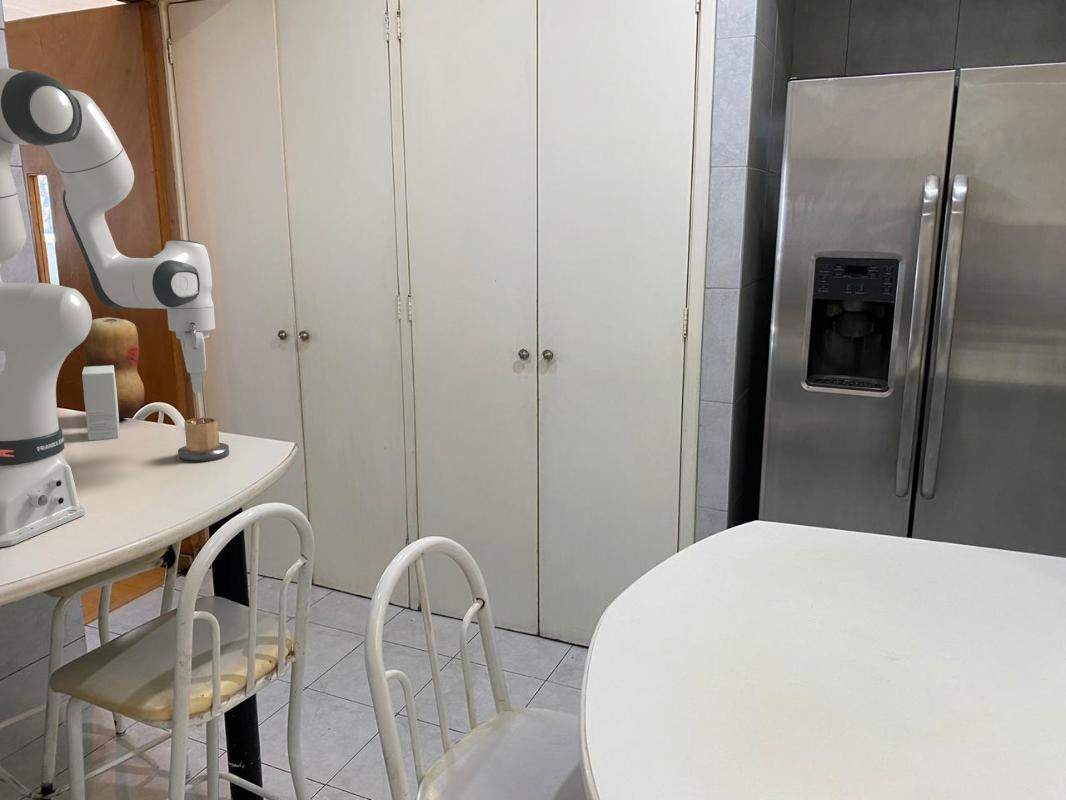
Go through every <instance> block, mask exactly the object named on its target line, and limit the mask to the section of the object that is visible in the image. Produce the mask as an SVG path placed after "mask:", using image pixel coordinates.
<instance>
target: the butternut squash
mask: <svg viewBox="0 0 1066 800" xmlns="http://www.w3.org/2000/svg"><path fill="white" fill-rule="evenodd" d="M82 343H83V349H82V350H83V356H84V361H85V367H92V366H109V365H114V372H115V381H116V390H117V401H118V414H119V421H120V420H125V419H128V418H129V417H130V416H131V415H133V414H134V413H135V412H136V411H137V410H138V409H139V408H140V407H141V406H142V405H143V403H144V401H145V386H144V383H143V381H142V379H141V377H140V374H139V373H138V363H139V356H140V348H139V334H138V330H137V326H136V325H135V323H133V322H131V321H129V320H128V319H124V318H123V319H122V318H117V317H115V318H114V317H107V316H106V317H102V318H101V317H100V318H98V317H97V318H95V319H92V325H91V329H90V331H89V334H88V335H87V337H86V338H85V340H84V341H83V342H82ZM82 400H83V405H84V407H85V400H84V390H83V389H82Z"/></svg>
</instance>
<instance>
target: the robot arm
mask: <svg viewBox="0 0 1066 800" xmlns="http://www.w3.org/2000/svg"><path fill="white" fill-rule="evenodd" d="M15 145H22V146H24V145H25V146H26V145H34V146H40V147H44V149H46V150H47V152H48V154H49V156H50V158H51V160H52V162H53V163H54V165H55V167H56V169H57V170H58V172H59V174H60V177H61V179H62V181H63V184H64V190H63V193H62V205H63V208H64V213H65V215H66V217H67V220H68V223H69V225H70V228H71V230H72V233H73V235H74V237H75V239H76V242H77V244H78V247H79V249H80V252H81V253H82V256H83V258H84V261H85V263H86V266H87V269H88V271H89V276H90V277H89V278H90V281H91V282H90V283H91V287H92V289H93V292H94V294H95V296H96V297H97V298H98V300H99V301H100V302H101V303H102V304H103V305H104V306H106V307H107V308H109V309H113V310H127V309H151V310H152V309H165V310H166V312H167V325H168V331H170V332H175V337H176V339H178V340H180V341H179V342H180V345H181V350H182V355H183V359H184V363H185V369H186V372H187V373H188V374H189V375H190V383H191V385H192V387H191V388H192V392H193V393H196V394H197V393H202V392H203V373H205V372H207V357H206V345H205V339H208V338H209V337H210V331H214V330H215V329H216V318H215V317H216V316H215V304H214V301H213V298H212V289H213V274H212V266H211V261H210V257H209V253H208V249H207V247H206V246H205V245H204V244H203V243H200V242H198V241H194V240H187V239H170V240H167V241H166V242H165V244H164V245H165V246H164V248H163V250H161V251H160V252H159V253H157V254H155V255H153V256H152V257H147V258H146V257H129V256H126V255H124V254H122V253H121V252H120V251H119V250H118V249H117V247H116V244H115V241H114V239H113V235H112V234H111V231H110V229H109V226H108V223H107V220H106V216H105V213H106V212H107V211H110V210H111V209H113V208H114V207H117V205H119V204H120V203H121V202H123V200H125V199H126V198H127V197H128V196H129V194H130V193H131V191H132V189H133V186H134V183H135V182H134V181H135V172H134V168H133V165H132V162H131V160H130V158H129V156H128V154H127V152H126V150H125V148H124V147H123V145H122V142H121V140H120V139H119V137H118V136H117V133H116V131H115V130H114V128H113V127H112V125H111V123H110V121H108V119H107V117H106V116H105V115H104V113H103V111H101V108H100V107H99V106H98V105H97V103H95V101H94V99H92V98H91V96H89V95H88V94H87V93H84V92H82V91H80V90H75V89H68V88H67V87H66V86H64V84H63V83H61V82H60V81H58V80H57V79H55V78H54V77H52V76H49V75H47V74H44V73H41V72H38V71H32V70H31V71H30V70H18V69H15V68H14V69H13V68H10V67H7V66H5V67H4V66H0V270H1V267H2V264H3V263H5V262H7V261H8V260H11V259H12V258H14V257H15V256H16V255H19V253H20V252H21V251H22V250H23V248H24V247H25V246H26V243H27V235H28V234H27V230H26V224H25V221H24V217H23V213H22V209H21V205H20V199H19V196H18V195H19V194H18V191H17V186H16V183H15V179H14V177H13V171H12V170H11V169H12V167H11V157H12V153H13V149H14V148H15ZM92 315H93V314H92V310H91V306H90V304H89V302H88V300H87V299H86V298H85V296H84V295H83V294H82V293H81V292H80V291H79V290H77V289H76V288H73V287H68V286H64V285H60V284H59V285H58V284H53V283H47V282H5V281H3V280H2V275H1V272H0V352H1V351H2V352H4V354H5V360H4V365H3V369H2V371H0V548H1V547H3V548H4V547H9V546H13V545H16V544H18V543H20V542H23V541H26V540H28V539H29V538H32V537H34V536H38V535H40V534H42V533H44V532H47V531H50V530H52V529H54V528H56V527H59V526H61V525H64V524H65V523H68V522H70V521H73V520H75V519H78V518H80V517H82V516H85V515H86V510H85V507H84V506H83V505H82V504H80V502H79V498H78V494H77V488H76V484H75V480H74V476H73V472H72V469H71V466H70V465H69V463H68V462H67V459H66V458H65V455H64V452H63V451H64V449H65V448H66V447H65V436H64V434H63V429H62V428H61V427H60V425H59V419H58V418H59V415H58V409H57V408H58V406H57V381H58V377H59V373H60V370H61V368H62V366H63V363H64V362H65V360H66V358H67V357H68V356H69V355H70V353H72V352H73V350H74V349H76V348H77V347H78V346H79V345H81V344H82V343H84V342H83V341H84V340H85V338H86V337H87V335H88V334H89V331H90V329H91V325H92V320H93V316H92Z"/></svg>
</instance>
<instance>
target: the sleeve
mask: <svg viewBox="0 0 1066 800" xmlns="http://www.w3.org/2000/svg"><path fill="white" fill-rule="evenodd" d="M183 423H184V433H185V444H186V445H185V446H187V452H190V453H207V452H212V451H216V450H217V449H219V448H220V445H219V443H220V435H219V423H218V418H215V417H195V418H191V419H187V420H185V421H184V422H183Z"/></svg>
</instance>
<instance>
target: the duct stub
mask: <svg viewBox="0 0 1066 800" xmlns="http://www.w3.org/2000/svg"><path fill="white" fill-rule="evenodd" d="M219 445H220V448H219V449H217V450H216V451H212V452H207V453H190V452H187V446H186V445H183V446H182V447H180V448H178V449H177V457H178V458H177V459H178V460H179V461H181V462H185V463H208V462H214V461H219V460H222V459H224V458H226V457H228V456H229V454H230V446H229V444H226V443H223V442H219Z"/></svg>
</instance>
